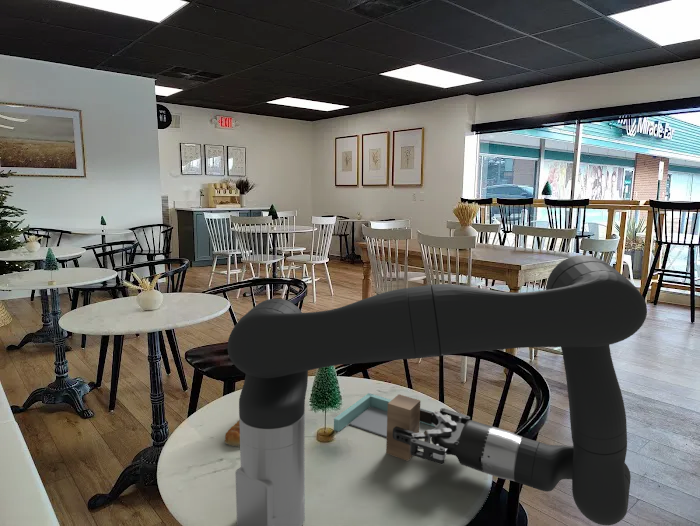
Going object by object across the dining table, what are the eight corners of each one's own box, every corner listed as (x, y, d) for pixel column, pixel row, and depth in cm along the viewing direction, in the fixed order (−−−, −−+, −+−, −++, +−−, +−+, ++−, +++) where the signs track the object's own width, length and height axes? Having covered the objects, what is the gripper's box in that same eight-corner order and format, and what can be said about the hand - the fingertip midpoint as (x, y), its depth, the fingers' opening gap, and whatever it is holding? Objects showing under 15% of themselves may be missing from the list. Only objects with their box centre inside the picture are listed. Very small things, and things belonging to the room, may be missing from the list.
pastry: (239, 454, 87) (238, 435, 86) (216, 441, 91) (215, 423, 90) (276, 433, 94) (275, 415, 93) (253, 422, 98) (253, 405, 97)
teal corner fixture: (409, 457, 86) (410, 444, 86) (333, 429, 95) (333, 418, 95) (438, 424, 98) (439, 413, 97) (368, 403, 107) (368, 393, 106)
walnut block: (408, 461, 85) (410, 410, 83) (386, 453, 87) (387, 403, 85) (418, 449, 89) (420, 400, 87) (397, 442, 91) (398, 394, 89)
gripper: (504, 412, 83) (420, 389, 92) (479, 449, 72) (386, 419, 80) (501, 450, 85) (419, 424, 93) (476, 493, 73) (385, 459, 81)
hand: (404, 422), depth 87 cm, fingers open, 8 cm apart
